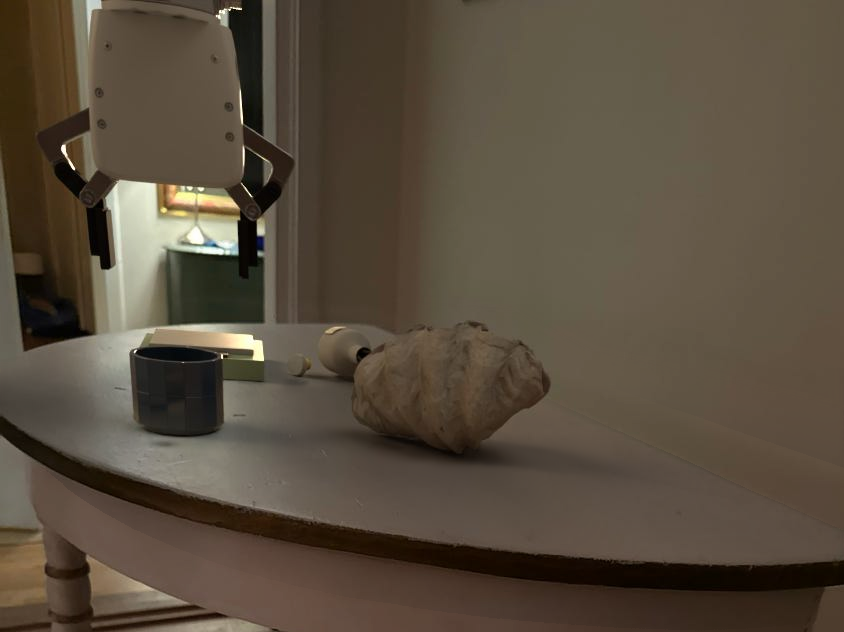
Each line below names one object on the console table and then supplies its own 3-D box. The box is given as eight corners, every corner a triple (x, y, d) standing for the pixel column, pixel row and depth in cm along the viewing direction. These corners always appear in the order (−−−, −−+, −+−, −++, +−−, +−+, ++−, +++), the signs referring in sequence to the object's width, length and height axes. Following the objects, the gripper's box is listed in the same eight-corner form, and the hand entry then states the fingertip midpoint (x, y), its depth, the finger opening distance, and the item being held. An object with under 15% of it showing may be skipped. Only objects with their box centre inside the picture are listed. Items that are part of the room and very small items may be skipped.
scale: (137, 374, 88) (135, 346, 87) (147, 352, 98) (146, 327, 97) (264, 381, 91) (264, 354, 90) (261, 359, 101) (261, 334, 100)
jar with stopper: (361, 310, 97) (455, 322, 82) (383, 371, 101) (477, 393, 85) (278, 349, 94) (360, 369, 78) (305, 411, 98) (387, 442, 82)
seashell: (469, 478, 67) (482, 339, 63) (337, 431, 76) (341, 306, 71) (551, 459, 75) (569, 333, 70) (423, 419, 83) (431, 304, 79)
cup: (130, 435, 69) (125, 359, 66) (139, 413, 75) (134, 343, 72) (223, 438, 71) (221, 364, 68) (224, 417, 76) (223, 348, 74)
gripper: (291, 21, 65) (293, 275, 73) (29, -14, 61) (60, 260, 69) (297, 5, 59) (298, 286, 66) (4, -36, 55) (41, 269, 62)
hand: (177, 272), depth 68 cm, fingers open, 9 cm apart
